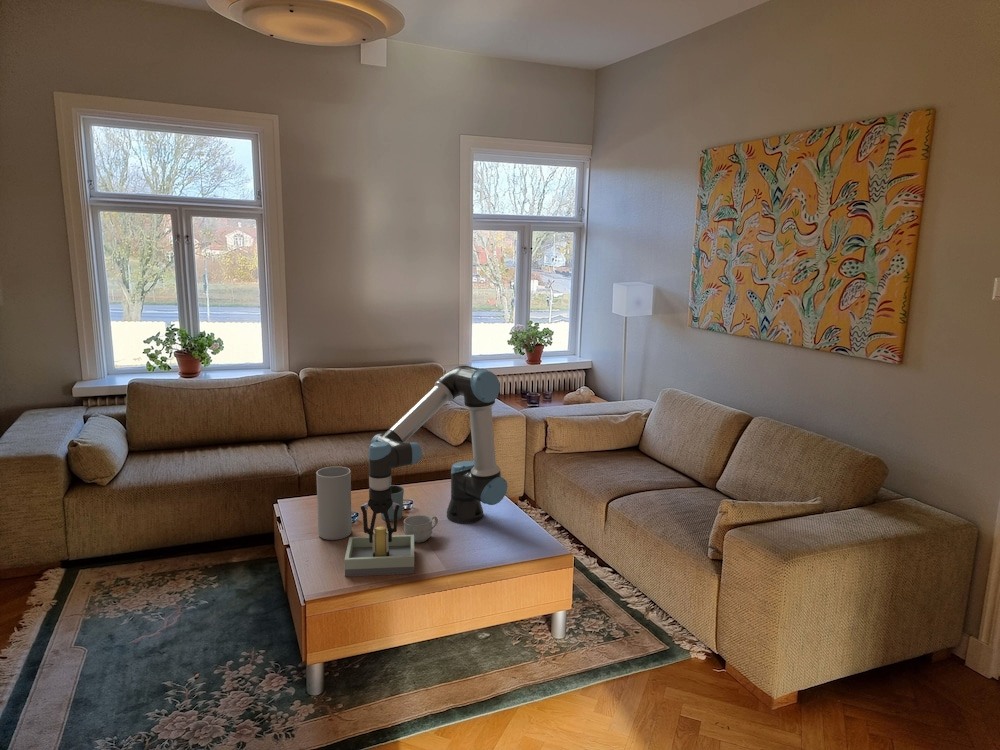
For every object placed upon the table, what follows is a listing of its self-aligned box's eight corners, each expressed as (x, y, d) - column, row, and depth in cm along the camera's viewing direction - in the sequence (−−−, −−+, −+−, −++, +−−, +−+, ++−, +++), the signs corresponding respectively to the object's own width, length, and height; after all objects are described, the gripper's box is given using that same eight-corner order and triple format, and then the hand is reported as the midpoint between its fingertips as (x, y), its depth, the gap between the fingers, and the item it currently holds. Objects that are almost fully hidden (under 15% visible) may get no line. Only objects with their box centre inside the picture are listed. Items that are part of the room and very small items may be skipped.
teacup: (409, 547, 245) (409, 527, 244) (399, 536, 255) (399, 516, 253) (444, 540, 251) (444, 520, 250) (433, 530, 261) (433, 510, 259)
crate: (414, 550, 243) (414, 534, 242) (414, 573, 225) (414, 556, 224) (349, 552, 240) (349, 537, 239) (344, 576, 222) (344, 559, 221)
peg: (386, 563, 232) (386, 531, 230) (374, 563, 232) (374, 531, 230) (386, 558, 236) (386, 526, 234) (375, 558, 236) (375, 526, 233)
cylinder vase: (343, 542, 248) (341, 478, 244) (312, 538, 251) (310, 475, 246) (357, 529, 260) (355, 467, 256) (327, 526, 263) (325, 465, 258)
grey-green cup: (401, 511, 279) (401, 483, 277) (406, 520, 270) (406, 492, 268) (377, 513, 276) (377, 486, 274) (381, 523, 267) (380, 494, 264)
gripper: (405, 482, 234) (405, 545, 238) (355, 483, 232) (356, 546, 236) (404, 490, 227) (405, 554, 231) (354, 491, 224) (355, 556, 228)
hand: (380, 550), depth 233 cm, fingers closed on peg, 4 cm apart
